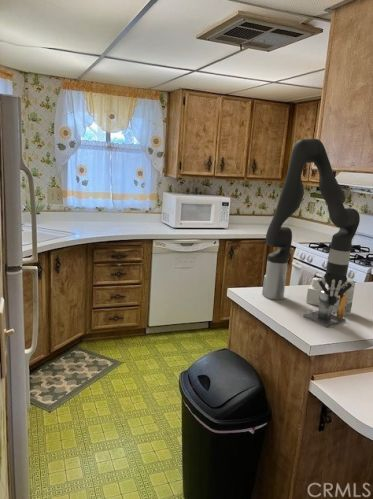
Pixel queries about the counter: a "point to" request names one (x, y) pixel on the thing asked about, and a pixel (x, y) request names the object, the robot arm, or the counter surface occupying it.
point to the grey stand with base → (324, 316)
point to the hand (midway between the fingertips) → (330, 304)
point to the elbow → (339, 303)
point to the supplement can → (348, 299)
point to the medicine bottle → (314, 292)
